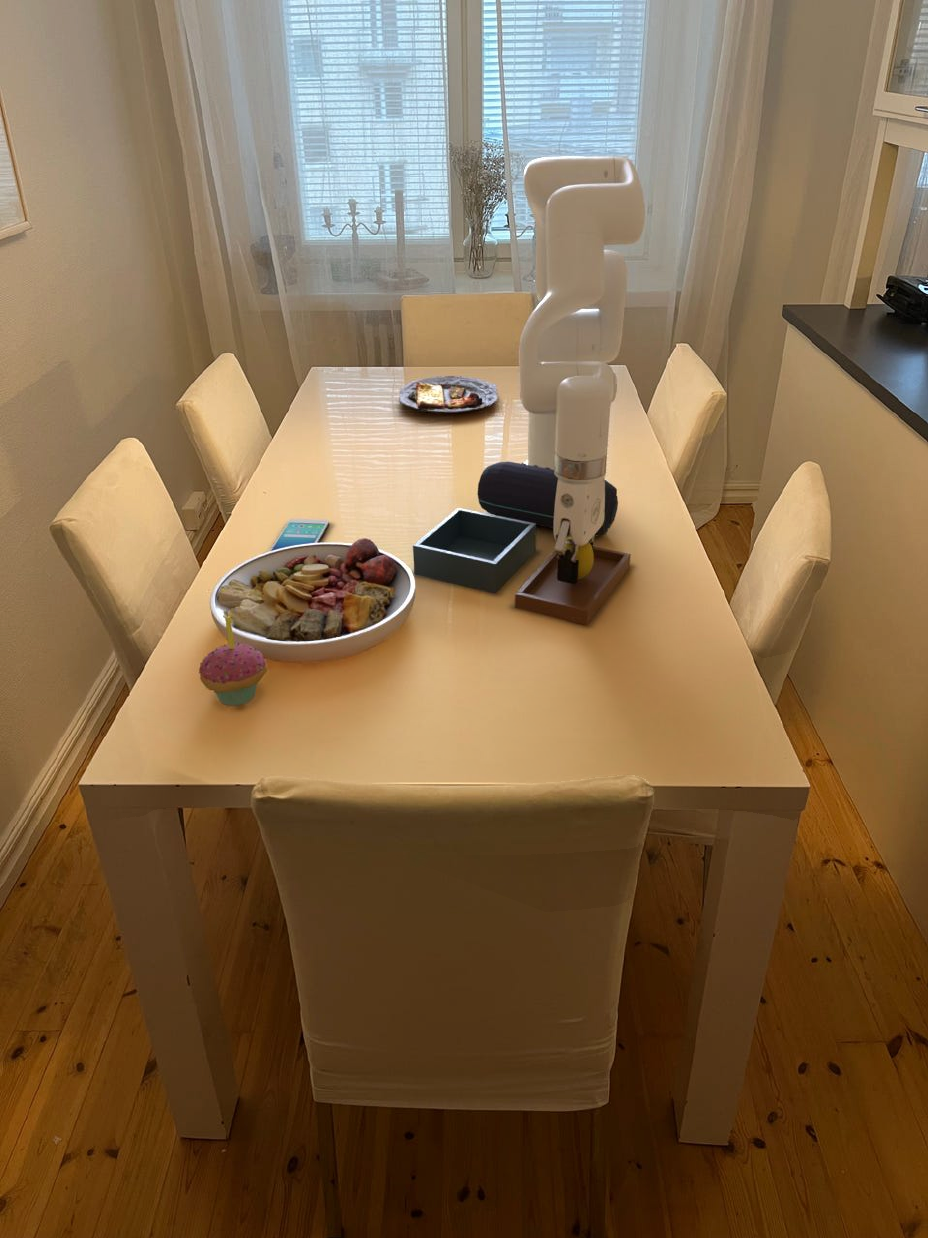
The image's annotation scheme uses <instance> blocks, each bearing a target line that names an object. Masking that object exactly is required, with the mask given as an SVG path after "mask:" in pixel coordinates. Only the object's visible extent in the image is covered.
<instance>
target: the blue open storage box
mask: <svg viewBox="0 0 928 1238" xmlns="http://www.w3.org/2000/svg"><path fill="white" fill-rule="evenodd" d="M536 543H537V525H536V523H531V522H526V521H521V520H516V519H511V518H506V517H501V516H497V515H493V514H490V513H488V512H482V511H477V510H472V509H467V508H461V507H457V508H456V509H455V510H454V511H452V512H451V513H450V514H449V515H448V516H446V517H445V518H444V519H443V520H441V521H440V522H439V523H437V525H436V526H434V527H433V528H432V529H431V530H430V531H428V532H427V533H426V534H425V535H424V536H422V537H421V538H420V539H419V540H418V541H416V542H415V543H414V544H413V545H412V553H413V554H412V555H413V556H412V557H413V558H412V559H413V572H414V573H413V576H418V577H424V578H427V579H430V580H431V579H432V580H435V581H439V582H444V583H448V584H452V585H456V586H461V587H464V588H468V589H473V590H477V591H481V592H486V593H490V594H493V595H496V594H497V593H498V592H499V591H500V590H501V589H502V588H503V587H504V586H505V585H506V584H507V582H509V581H510V580H511V579H512V578H513V576H515V574H516V573H517V572H518V571H519V570H520V569H521V568H522V567H523V566H524V565H525V564H526V563H527V562H528V560H529V559H531V557H532V556H533V555H534V554H535V553H536V548H537V546H536V545H537V544H536Z"/></svg>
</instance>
